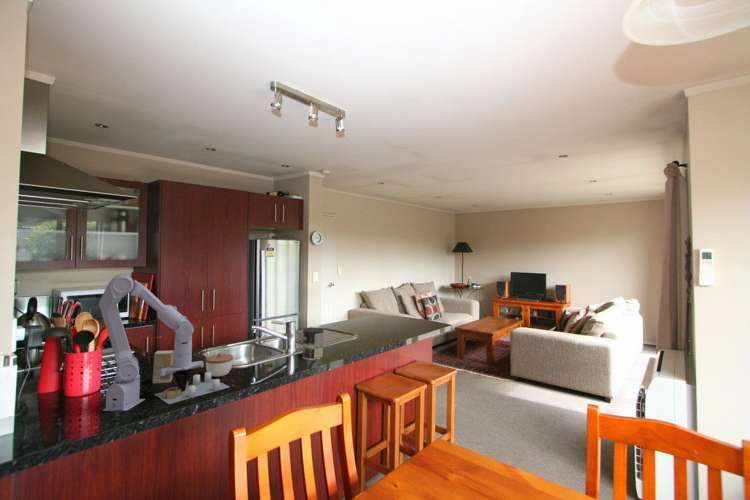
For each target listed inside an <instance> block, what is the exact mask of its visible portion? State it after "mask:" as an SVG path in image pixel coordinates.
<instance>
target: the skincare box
mask: <svg viewBox="0 0 750 500" xmlns="http://www.w3.org/2000/svg"><path fill="white" fill-rule="evenodd" d="M173 365H174V350H157V351H155V352H154V355H153V370H152V384H163V383H171V381H172V380H173V377H174V375H173V373H171V374H166V375H164V376H161V375H160V369H164V368H167V367H170V366H173Z"/></svg>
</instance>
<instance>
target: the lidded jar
mask: <svg viewBox="0 0 750 500" xmlns="http://www.w3.org/2000/svg"><path fill="white" fill-rule="evenodd" d="M233 359H234V356H233V355H232V354H228V353H221V352H219V353H218V354H211V355H208V356H206V357H205V369H206V372H211V377H215V378H216V377H224V376H226V375H228V374H229V373H230V371H231V370H232V367H233Z"/></svg>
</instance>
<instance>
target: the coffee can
mask: <svg viewBox="0 0 750 500" xmlns="http://www.w3.org/2000/svg"><path fill="white" fill-rule="evenodd" d="M302 331H303V333H302V359H304V360H306V361H317V360H316V359H318V360H321V359H323V358H322V357H324V354H323V352H324V351H323V350H324V349H323V348H324V329H323V328H321V327H305V328H304V329H303V330H302ZM320 358H321V359H320Z"/></svg>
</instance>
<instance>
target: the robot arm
mask: <svg viewBox="0 0 750 500" xmlns="http://www.w3.org/2000/svg"><path fill="white" fill-rule="evenodd" d="M128 294H129V295H130V296H133V297H136V298H137V297H138V298H140V299H141V300H143V301H144V302H145V303H147V305H149V306H150V307H151V308H153V310H155V311H156V313H157V314H156V317H157V318H158V319H159V320H160V321H161V322H163V324H165V325H166V326H167V327H168V328H169V329H172V330H173V332H174V333H175V336H174V338H175V339H174V343H173V344H174V347H173V351H174V360H173V366H170V367H167V368H164V369H160V375H161V376H164V375H166V374H171V373H173V377H174V379H175V381H176V384H177V387H179V388H180V389H181V392H183V391H185V389H186V385H187V382H188V383H189V380H190V377H191V376H192V375H193V370H192V369H198V368H203V367H205V366H204V363H205V362H204V360H198V361H192V355H193V350H192V349H193V339H192V338H193V333H194V332H195V328H194V325H193V323H191V322H190V320H189V319H188V317H187V316H185V315H182V314H181V313H180V312H179V310H177V309H178V308H177V306H175V305H172V304H164V303H163V302H162V301H161V300H160V299H159V298H158V297H156V296H155V294H154V293H152V292H151V291H150V290H149V289H148V288H147V287H146V286H145V285H144V284H142V283H140V282H138V281H137V280H136V279H133V278H132V276H130V275H128V274H126V273H121V274H116V275H115V276H114V277H112V279H111V280H110V281H109V282H108V283H107V285H106V287H105V289H104V291H103V293H102V295H101V298H100V300H99V303H98V306H99V308H100V312H101V316H102V318H103V321H104V326H105V329H106V331H107V332H106V333H107V334H108V337H109V341H110V345H111V348H112V350H113V353H114V357H115V363H116V372H115V374H116V375H115V377H114V378H113V379H114V380H113V383H112V384H111V385H110V386H109V387H108V388H107V390H106V392H105V393H106V394H105V408H103V409H102V411H103V412H116V411H124V412H125V411H128V410H131V409H132V408H133V407H135V406H137V405H138V404H140V403H142V402H143V401H145V400H146V398H140V393H141V391H140V390H141V387H140V386H141V374H140V373H139V372H140V366H139V360H138V358H137V357H135V355H134V354H133V351H132V349H131V347H130V342H129V340H128V336H127V334H126V329H125V327H124V323H123V320H122V318H121V315H120V314H121V313H120V310H119V306H118V304H119V303H120V302H121V300H122V299H123V298H124V297H125V296H127V295H128Z"/></svg>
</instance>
